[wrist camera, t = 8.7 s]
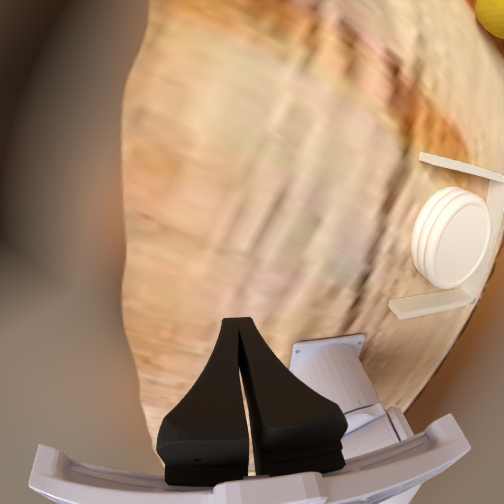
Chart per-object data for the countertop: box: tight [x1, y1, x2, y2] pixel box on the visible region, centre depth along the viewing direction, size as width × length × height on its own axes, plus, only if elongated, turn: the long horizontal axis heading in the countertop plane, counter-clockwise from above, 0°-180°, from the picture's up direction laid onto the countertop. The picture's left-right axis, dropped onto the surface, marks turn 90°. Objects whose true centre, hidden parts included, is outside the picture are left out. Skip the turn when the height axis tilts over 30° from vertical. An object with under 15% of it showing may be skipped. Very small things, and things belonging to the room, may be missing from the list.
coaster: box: [410, 186, 491, 290], centre depth 22 cm, size 10×10×4 cm
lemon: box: [475, 0, 504, 39], centre depth 9 cm, size 6×6×8 cm
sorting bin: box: [388, 152, 504, 320], centre depth 22 cm, size 16×13×2 cm
